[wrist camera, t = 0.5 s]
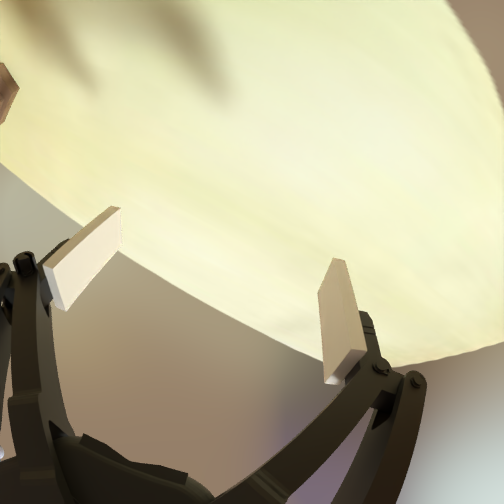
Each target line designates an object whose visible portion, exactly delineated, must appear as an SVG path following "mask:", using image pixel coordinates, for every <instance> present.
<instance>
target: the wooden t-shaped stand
mask: <svg viewBox="0 0 504 504" xmlns="http://www.w3.org/2000/svg"><path fill="white" fill-rule="evenodd" d="M18 90H19V87H18V85H17V84H16V82H15V81H14V79H13V78H12V76H11V75H10V73H9V72H8V70H7V68H6V67H5V65H4V64H1V65H0V125H1V124H2V123H3V122H4V121H5V118H6V116H7V114H8V111H9V109H10V107H11V105H12V103H13V100H14V98H15V96H16V94H17V92H18Z"/></svg>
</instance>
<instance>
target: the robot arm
mask: <svg viewBox="0 0 504 504" xmlns="http://www.w3.org/2000/svg"><path fill="white" fill-rule="evenodd" d="M121 246H122V228H121V208H119V207H114V206H110V207H109V208H107V209H106V210H105V211H104V212H102V213H101V214H100V215H99V216H97V217H96V218H95V219H94V220H92V221H91V222H90V223H89V224H87V225H86V226H85V227H84V228H83V229H81V230H80V231H79V232H78V233H77V234H75V235H74V236H73V237H72V238H71V239H67V240H65V241H63V242H61V243H59V244H58V245H57V246H56V247H55V249H53V250H52V251H51V252H50V253H48V254H47V255H46V256H45V257H44V258H43V259H42V260H41V261H40V262H39V263H38V264H36V260H35V257H34V254H33V253H32V252H29V251H25V252H22V253H20V254H18V255H17V256H16V257H15V258H14V260H13V264H14V267H15V270H16V271H11V270H10V267H9V265H8V264H7V263H0V430H1V422H2V409H3V398H4V390H5V382H6V376H7V369H8V364H9V359H10V354H11V374H12V388H13V396H12V397H10V398H9V399H8V413H9V420H10V426H11V432H12V438H13V443H14V447H15V451H16V456H15V457H12V458H9V459H6V460H4V461H1V459H0V504H285V503H286V502H287V499H288V498H289V496H290V495H291V494H292V493H293V492H295V491H296V490H297V489H298V488H299V487H300V486H301V485H302V484H303V483H304V482H305V481H306V480H307V479H308V478H309V477H310V476H311V475H312V474H313V473H314V472H315V471H316V470H317V469H318V468H319V467H320V466H321V465H322V464H323V463H324V462H325V461H326V460H327V459H328V458H329V457H330V456H331V454H332V453H333V452H334V451H335V450H336V449H337V448H338V447H339V445H340V444H341V443H342V442H343V441H344V439H345V438H346V437H347V436H348V435H349V433H350V432H351V431H352V430H353V428H354V427H355V426H356V425H357V423H358V422H359V421H360V419H361V418H362V417H363V416H364V414H365V413H366V411H367V410H368V409H369V407H371V408H374V411H373V414H372V417H371V419H370V422H369V425H368V427H367V430H366V432H365V435H364V437H363V440H362V442H361V444H360V447H359V449H358V451H357V453H356V456H355V458H354V460H353V462H352V464H351V466H350V468H349V471H348V473H347V475H346V477H345V478H344V480H343V482H342V484H341V486H340V488H339V490H338V492H337V493H336V495H335V497H334V499H333V501H332V502H331V504H396V501H397V499H398V496H399V494H400V491H401V489H402V486H403V483H404V480H405V477H406V474H407V471H408V468H409V465H410V462H411V458H412V455H413V451H414V447H415V444H416V440H417V436H418V432H419V427H420V423H421V418H422V413H423V407H424V402H425V396H426V389H427V382H426V380H425V378H424V377H423V375H422V374H421V373H419V372H417V371H409V372H408V373H407V374H406V375H405V376H404V375H402V374H400V373H397V372H395V371H393V370H392V369H391V366H390V364H389V362H388V361H387V360H386V359H384V358H382V357H381V353H380V349H379V345H378V341H377V337H376V335H375V334H376V333H375V329H374V325H373V321H372V319H371V317H370V316H369V315H368V313H367V312H364V311H358V307H357V303H356V299H355V295H354V291H353V288H352V284H351V280H350V277H349V273H348V269H347V266H346V263H345V260H341V259H337V258H333V259H332V261H331V264H330V266H329V268H328V271H327V273H326V275H325V277H324V280H323V282H322V284H321V286H320V289H319V291H318V302H319V313H320V324H321V336H322V350H323V365H324V382H325V383H327V384H336V385H339V384H340V383H341V382H342V381H343V380H344V379H345V387H344V388H343V389H342V390H341V391H340V392H339V393H338V394H337V395H336V397H335V398H334V399H333V400H332V401H331V402H330V403H329V404H328V405H327V406H326V407H325V408H324V410H322V411H321V412H320V414H319V415H318V416H317V417H316V418H315V419H314V420H313V421H311V422H310V423H309V424H308V425H307V426H306V427H305V428H304V429H303V430H302V431H301V432H300V433H299V434H298V435H297V436H296V437H295V438H293V439H292V441H290V442H289V443H288V444H287V445H286V446H284V447H283V448H282V449H281V450H280V451H279V452H277V453H276V454H275V455H274V456H273V457H271V458H270V459H269V460H268V461H267V462H265V463H264V464H263V465H262V466H260V467H259V468H258V469H256V470H255V471H254V472H252V473H251V474H250V475H248V476H247V477H246V478H244V479H243V480H241V481H240V482H239V483H237V484H236V485H234V486H233V487H231V488H230V489H228V490H227V491H225V492H224V493H222V494H221V495H219V496H217V497H216V498H215V497H214V496H213V495H212V494H211V493H210V491H209V490H208V489H206V488H205V487H204V486H203V485H202V484H200V483H199V482H197V481H196V480H194V479H192V478H190V477H188V473H185V472H181V471H178V470H174V469H171V468H167V467H164V466H161V465H153V464H145V463H137V462H131V461H129V460H127V459H126V458H124V457H123V456H122V455H120V454H119V453H117V452H116V451H115V450H113V449H112V448H111V447H109V446H108V445H107V444H105V443H102V442H100V441H98V440H96V439H94V438H92V437H90V436H88V435H86V434H83V436H82V437H79V436H75V433H74V431H73V429H72V427H71V425H70V423H69V421H68V419H67V415H66V411H65V407H64V403H63V398H62V393H61V389H60V383H59V378H58V372H57V366H56V359H55V351H54V342H53V331H52V318H51V317H52V316H51V306H50V302H51V300H52V299H53V300H54V302H55V305H56V307H58V308H60V309H62V310H64V311H67V310H68V309H69V307H70V306H71V305H72V303H73V302H74V301H75V299H76V298H77V297H78V296H79V295H80V293H81V292H82V291H83V290H84V288H85V287H86V286H87V285H88V284H89V283H90V281H91V280H92V279H93V278H94V277H95V275H96V274H97V273H98V272H99V271H100V270H101V268H102V267H103V266H104V265H105V264H106V263H107V262H108V261H109V259H110V258H111V257H112V256H113V255H114V254H115V253H116V252H117V251H118V250H119V248H120V247H121ZM1 302H3V304H2V306H1ZM3 456H4V450H3V448H2V447H1V446H0V458H2V457H3Z"/></svg>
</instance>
